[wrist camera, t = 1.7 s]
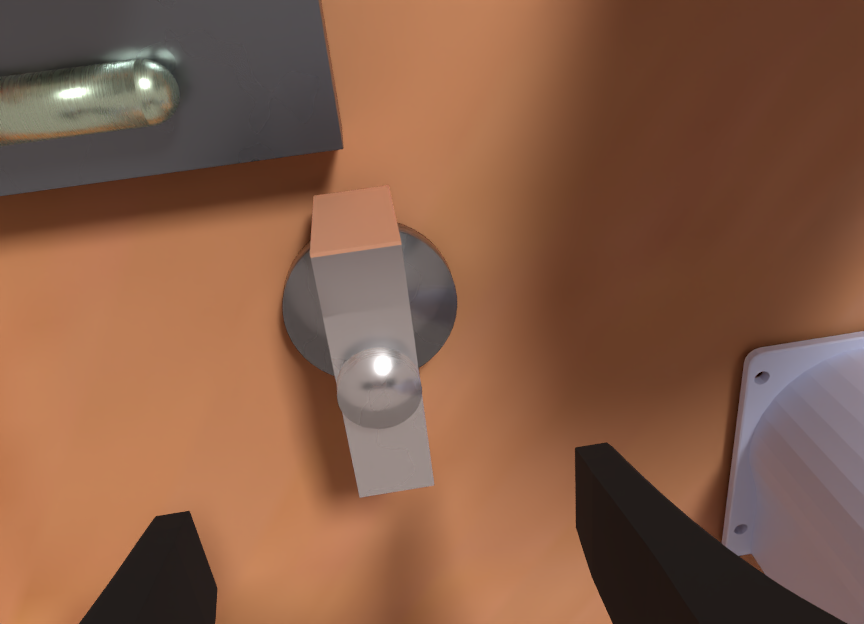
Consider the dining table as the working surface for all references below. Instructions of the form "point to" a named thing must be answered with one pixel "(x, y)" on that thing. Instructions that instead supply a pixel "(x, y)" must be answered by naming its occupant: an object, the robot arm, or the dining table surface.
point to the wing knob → (372, 328)
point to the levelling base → (159, 87)
